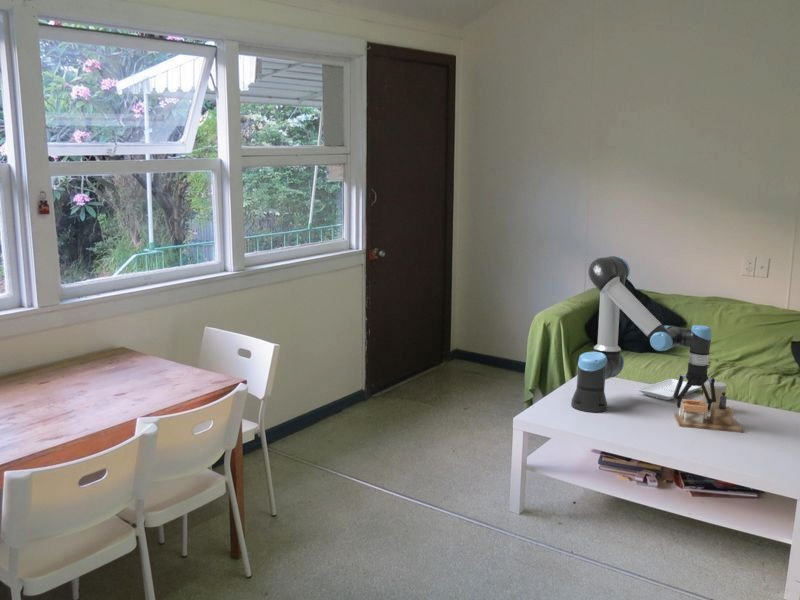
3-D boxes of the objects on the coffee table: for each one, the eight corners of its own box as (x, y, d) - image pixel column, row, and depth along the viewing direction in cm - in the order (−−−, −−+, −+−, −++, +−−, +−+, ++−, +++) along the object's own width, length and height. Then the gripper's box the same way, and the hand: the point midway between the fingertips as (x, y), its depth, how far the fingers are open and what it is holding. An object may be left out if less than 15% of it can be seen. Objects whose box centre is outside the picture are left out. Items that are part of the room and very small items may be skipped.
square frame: (683, 411, 298) (684, 405, 297) (680, 404, 306) (680, 398, 306) (707, 413, 296) (707, 407, 296) (702, 406, 305) (703, 401, 304)
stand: (679, 426, 297) (682, 397, 295) (674, 415, 310) (676, 387, 308) (742, 432, 292) (746, 403, 290) (734, 421, 305) (737, 393, 303)
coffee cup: (726, 414, 315) (729, 387, 313) (703, 412, 317) (706, 385, 315) (721, 407, 324) (724, 381, 322) (698, 405, 326) (701, 379, 324)
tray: (636, 395, 340) (636, 387, 339) (670, 384, 360) (671, 377, 360) (669, 404, 327) (670, 396, 327) (703, 392, 348) (704, 385, 347)
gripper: (671, 363, 297) (666, 416, 300) (728, 368, 292) (722, 422, 296) (668, 359, 304) (663, 411, 308) (724, 363, 300) (718, 416, 303)
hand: (692, 416), depth 302 cm, fingers closed on square frame, 9 cm apart
